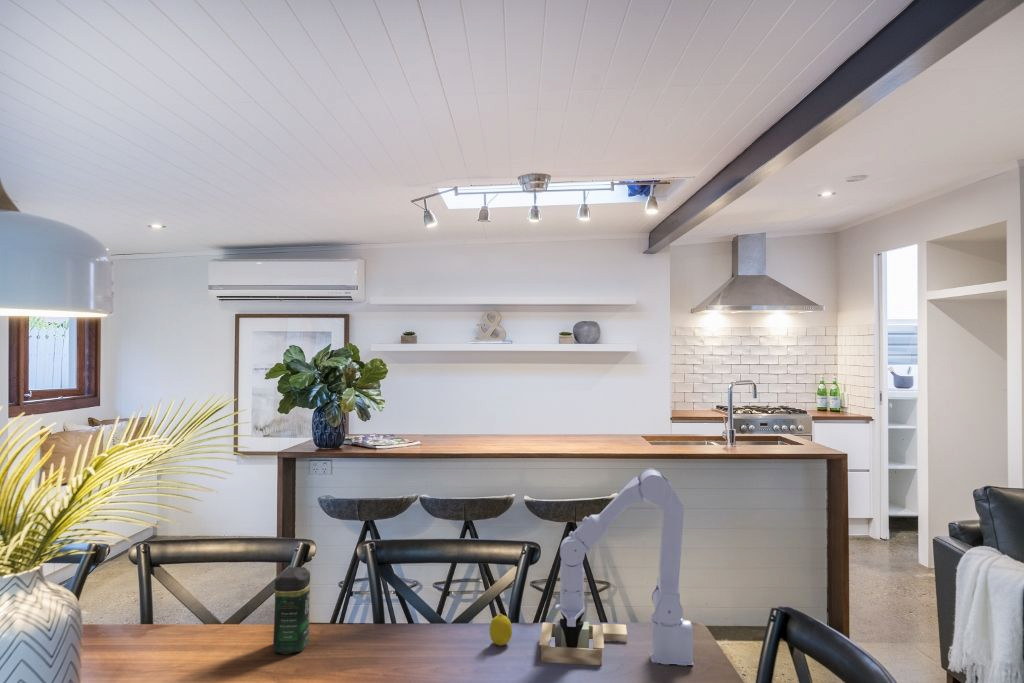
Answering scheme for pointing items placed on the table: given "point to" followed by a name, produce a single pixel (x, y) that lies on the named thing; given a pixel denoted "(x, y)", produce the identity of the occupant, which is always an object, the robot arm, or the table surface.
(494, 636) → the lemon
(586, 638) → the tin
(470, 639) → the table surface
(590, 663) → the wooden tray
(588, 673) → the table surface
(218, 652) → the table surface
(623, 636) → the oak stand
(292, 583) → the coffee jar
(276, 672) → the table surface
